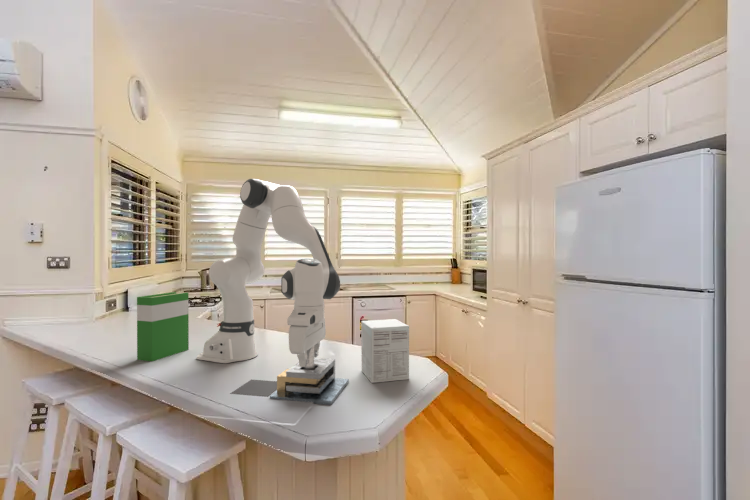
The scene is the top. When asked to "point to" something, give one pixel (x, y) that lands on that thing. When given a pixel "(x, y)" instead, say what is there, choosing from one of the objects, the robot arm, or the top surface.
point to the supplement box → (385, 350)
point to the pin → (310, 359)
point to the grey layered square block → (310, 383)
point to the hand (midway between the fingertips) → (309, 361)
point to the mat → (257, 388)
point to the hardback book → (162, 325)
